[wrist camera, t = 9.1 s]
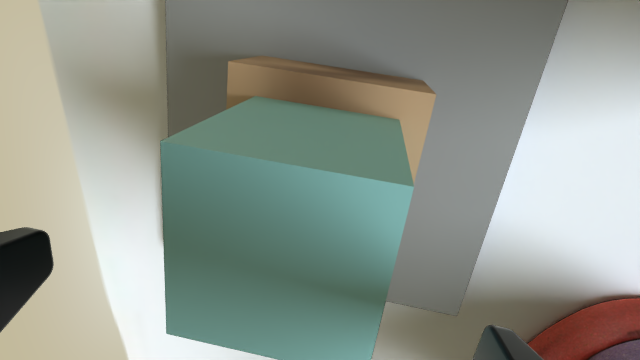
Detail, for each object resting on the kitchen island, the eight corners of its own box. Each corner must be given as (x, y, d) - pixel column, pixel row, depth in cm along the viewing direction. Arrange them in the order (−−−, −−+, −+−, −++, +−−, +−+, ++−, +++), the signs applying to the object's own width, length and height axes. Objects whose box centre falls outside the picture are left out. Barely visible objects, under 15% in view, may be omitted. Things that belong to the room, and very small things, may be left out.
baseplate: (564, -22, 14) (577, -26, 14) (453, 303, 20) (456, 316, 20) (176, -71, 16) (163, -78, 15) (179, 246, 22) (170, 255, 21)
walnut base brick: (423, 80, 16) (436, 94, 12) (389, 225, 18) (391, 273, 15) (262, 55, 16) (228, 61, 13) (252, 198, 19) (221, 238, 15)
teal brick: (399, 119, 12) (413, 187, 7) (371, 246, 14) (366, 379, 9) (255, 96, 13) (160, 141, 7) (247, 222, 15) (166, 333, 9)
